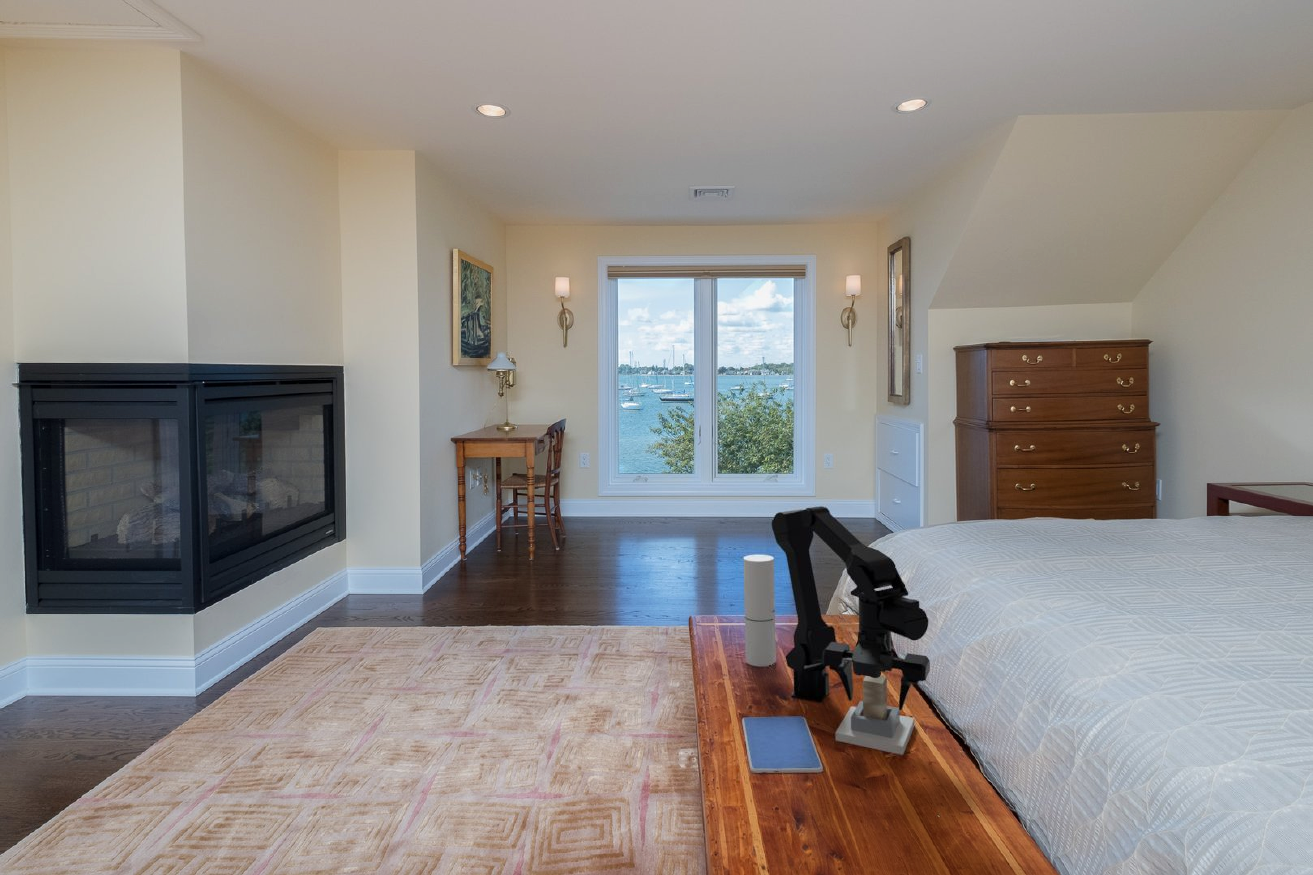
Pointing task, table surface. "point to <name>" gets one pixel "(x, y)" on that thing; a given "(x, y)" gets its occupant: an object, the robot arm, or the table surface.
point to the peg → (875, 697)
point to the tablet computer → (780, 745)
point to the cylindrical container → (759, 610)
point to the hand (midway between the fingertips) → (875, 704)
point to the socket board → (876, 730)
